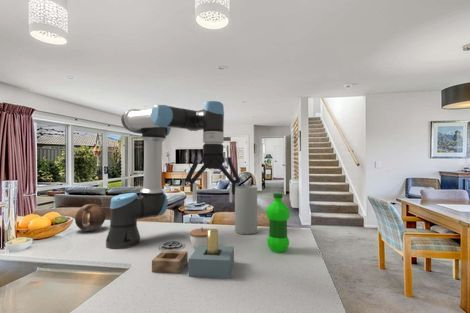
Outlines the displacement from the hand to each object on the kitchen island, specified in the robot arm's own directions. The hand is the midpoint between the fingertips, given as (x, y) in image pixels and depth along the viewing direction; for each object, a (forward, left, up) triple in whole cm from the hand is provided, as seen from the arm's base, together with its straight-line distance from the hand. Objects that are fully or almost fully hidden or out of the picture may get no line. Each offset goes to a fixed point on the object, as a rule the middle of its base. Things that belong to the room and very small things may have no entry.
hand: (212, 201), depth 92 cm
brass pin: (0, 0, -24) cm, 24 cm away
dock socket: (0, 0, -24) cm, 24 cm away
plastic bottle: (+25, +22, -25) cm, 41 cm away
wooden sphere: (-79, +42, -25) cm, 93 cm away
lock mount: (-16, 0, -24) cm, 29 cm away
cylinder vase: (+9, +50, -25) cm, 56 cm away
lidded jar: (-9, +20, -25) cm, 33 cm away
